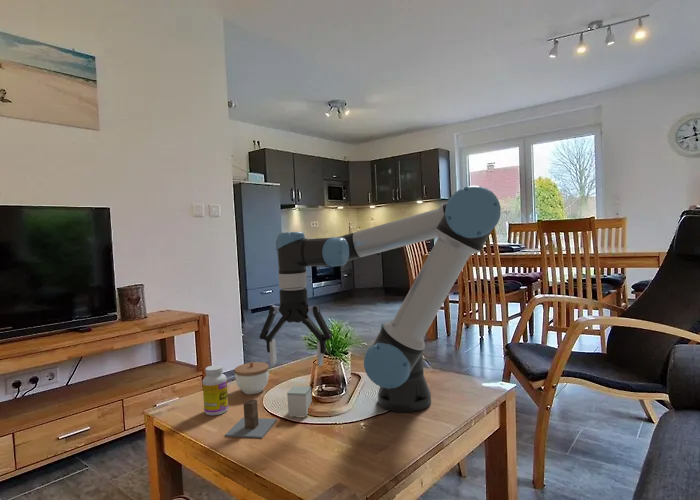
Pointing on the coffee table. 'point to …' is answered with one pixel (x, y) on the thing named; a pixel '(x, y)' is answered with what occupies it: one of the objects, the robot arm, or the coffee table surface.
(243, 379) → the lidded jar
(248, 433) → the coaster
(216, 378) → the supplement bottle
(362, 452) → the coffee table surface
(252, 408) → the post
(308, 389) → the pale grey block
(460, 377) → the coffee table surface
